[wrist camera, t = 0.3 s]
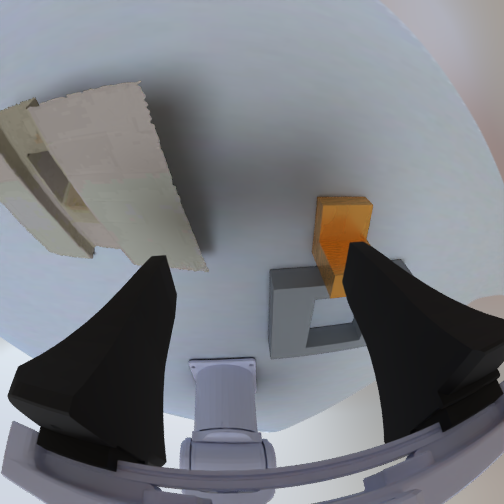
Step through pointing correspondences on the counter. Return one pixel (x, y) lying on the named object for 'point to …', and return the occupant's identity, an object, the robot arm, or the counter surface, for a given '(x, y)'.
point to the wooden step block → (338, 236)
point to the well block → (305, 316)
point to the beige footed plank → (94, 177)
